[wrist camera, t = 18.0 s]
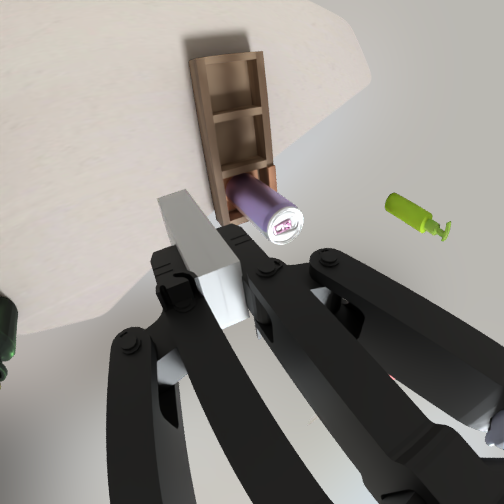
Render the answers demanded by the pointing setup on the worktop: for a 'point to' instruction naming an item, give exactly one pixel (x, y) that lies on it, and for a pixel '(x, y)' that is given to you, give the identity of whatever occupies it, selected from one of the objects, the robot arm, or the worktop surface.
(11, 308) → the potion bottle
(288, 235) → the beverage can
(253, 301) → the robot arm
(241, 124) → the can caddy
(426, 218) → the soap dispenser
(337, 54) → the worktop surface
